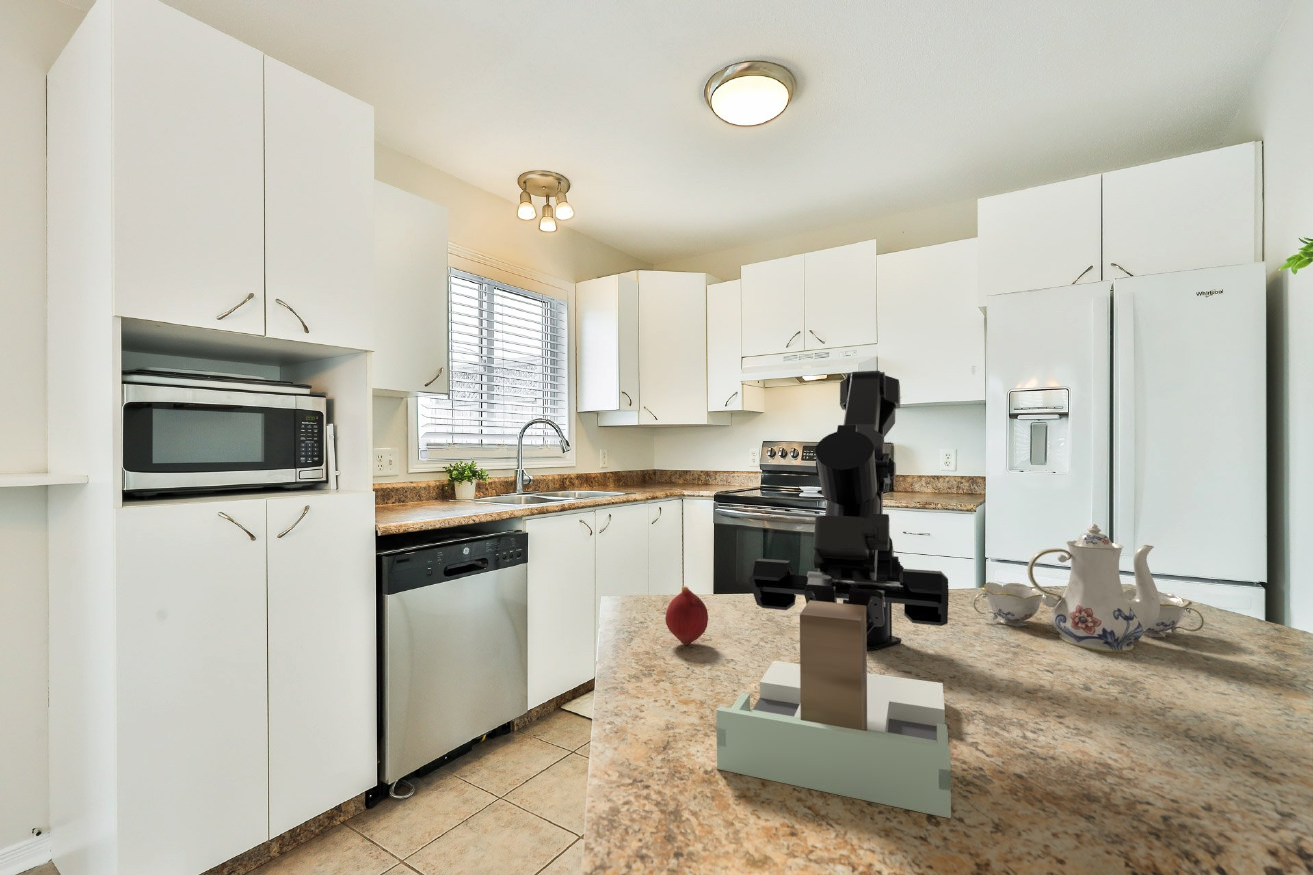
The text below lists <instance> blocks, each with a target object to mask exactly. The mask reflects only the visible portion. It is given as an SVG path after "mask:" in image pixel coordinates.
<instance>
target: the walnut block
mask: <svg viewBox="0 0 1313 875" xmlns="http://www.w3.org/2000/svg"><path fill="white" fill-rule="evenodd" d="M867 651H868V649H867V639H866V606H864V605H854V604H843V602H842V603H840V602H837V603H832V602H822V601H811V600H810V601H809V602H808V603H807V604H806V605H805V606H804V608H803V609H802V611H801V612H800V614H799V664H800V706H801V720H803V721H809V722H815V723H821V724H827V725H833V726H839V727H844V728H850V729H856V730H862V731H867V673H868V667H867V666H868V665H867V663H868V662H867V660H868V659H867V658H868V656H867V655H868V654H867V653H868V652H867Z"/></svg>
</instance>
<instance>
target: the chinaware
mask: <svg viewBox="0 0 1313 875" xmlns="http://www.w3.org/2000/svg"><path fill="white" fill-rule="evenodd" d="M1087 531H1088V532H1084V533H1083V534H1081V535H1080V536H1078V538H1077V540H1068V541H1066V542H1065V543H1066V544H1067V546H1068V550H1069V551H1068V550H1066V549H1065V548H1054V547H1053V548H1045V549H1042V550H1040V551H1038V552H1037V553H1035V554H1034V555H1033V556H1032V557H1031V558H1030V560H1029V562H1028V565H1027V577H1028V579H1029V582H1030V584H1032V585H1033V587H1034V588H1030V587H1029V586H1027V585H1026V584H1022V583H1019V582H1009V583H1006V584H1003V585H1002V584H1000V583H997V582H996V583H995V582H991V581H988V582H987V583H984V584H983V586H981V587H980V590H981V593H977V594H975V596H974V597H973V598H972V599H973V600H972V607H973V609H974V610H975V611H976V612H977V613H978V614H980V615H986V614H992V616H991V619H992V620H994V621H995V620H998V619H999V617H1000V618H1001V619H1000V620H999V622H1001V623H1002V624H1004V625H1009V626H1013V627H1022V626H1028V624H1026V623H1025V621H1027V620H1029V619H1032V618H1033V617H1034V616H1035V615H1036V614H1037V612H1038V611H1039V609H1040V606H1041V602H1042V603H1043V605H1045V606H1046V607H1048V608H1052V610H1051V614H1050V617H1049V621H1050V624H1051V625H1052V627H1053V628H1054V629H1055V630H1056V631H1057V632H1059V635H1058V638H1059V640H1060V641H1062V642H1064V643H1066V644H1068V645H1071V646H1075V647H1077V648H1081V649H1085V650H1092V651H1097V652H1106V653H1127V652H1131V651H1133V650H1135V646H1134V643H1136V642H1137V641H1138V640H1140V638H1142V637H1143V636H1148V637H1150V638H1151V637H1155V638H1165V639H1166V635H1167V633H1165V632H1167V631H1170V632H1171V633H1172V634H1173V635H1175V636H1176V635H1178V634H1179V633H1180V631H1178V629H1182V630H1185V631H1188V632H1198V631H1199V630H1201V629H1202V628H1203V627H1204V625H1205V619H1204V617H1203V616H1204V615H1203V614H1202V613H1201V612H1200V611H1199V610H1197V609H1195V608H1192V607H1191V606H1193V602H1192V601H1190V600H1186V601H1185V600H1183V599H1182V598H1181V597H1180V596H1178V595H1176V594H1173V593H1159V592H1158V589H1157V586H1156V583H1155V581H1154V578H1153V576H1152V573H1151V571H1150V567H1149V564H1148V560H1147V559H1148V555H1149V553H1150V552H1151V551H1152V550H1153V548H1154V547H1155V546H1154V545H1149V544H1144V545H1143V546H1142V545H1141V547H1139V548H1138V549H1137V550H1136V552H1135V553H1134V556H1133V572H1134V579H1135V585H1136V586H1135V587H1136V589H1129V590H1128V589H1127V590H1125V591H1124V590H1123V586H1122V583H1121V578H1120V558H1121V553H1122V551H1123V548H1124V547H1125V546H1123V544H1117V543H1116V542H1115V543H1113V542H1112V540H1111V539H1110V538H1109V537H1108V536H1107V535H1106V534H1103V533H1100V532H1102V530H1101V529H1100V528H1099V527H1098V525H1097V524H1095V523H1093V524H1091V525H1090V527H1089V528H1087ZM1050 553H1051V554H1052V553H1053V554H1055V553H1060V554H1058V555H1057V560H1058V561H1059V562H1060V563H1066V562H1067V561H1069V560H1070V574H1069V579H1068V581H1067V582H1068V583H1067V585H1066V588H1065V591H1064V592H1063V594H1062V595H1061V594H1060V593H1058V592H1057V591H1053V590H1052V591H1051V590H1048V589H1046V588H1045V587H1042V586H1041V585H1040V584H1039V583H1038V582H1037V581H1036V579H1035V576H1034V567H1035V564H1036V562H1037V561H1038V559H1040V558H1041V557H1043V556H1044V555H1047V554H1050ZM1061 553H1064V554H1061ZM1065 554H1067V556H1066V555H1065ZM980 596H981V597H982V599H985V598H986V600H987V603H988V606H989V607H990V609H991V610H990V611H984V612H983V611H980V610H978V609H977V607H976V601H977V599H978V598H979V597H980ZM1053 596H1055V597H1056V598H1055V597H1053ZM1185 611H1186V612H1187V613H1188V614H1189V615H1190V614H1192V611H1193V612H1194V613H1197V614H1198V616H1199V617H1200V620H1201V623H1200V625H1199V626H1198V627H1197V628H1193V629H1190V628H1187V627H1184V626H1179V623H1180V622H1181V621H1182V619H1183V616H1184V613H1185Z"/></svg>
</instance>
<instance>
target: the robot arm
mask: <svg viewBox="0 0 1313 875" xmlns="http://www.w3.org/2000/svg"><path fill="white" fill-rule="evenodd" d="M839 406H840V407H841V409H842V410H843V411H845V412H844V419H843V424H838V425H837V429H836V431H835V432H832V433H829V434H827V435H826V436H824V437H823V438H822V439H821V440H820V441H819V442H818V443H817V444H816V445H815V452H814V453H815V458H816V460H815V469H816V474H817V478H818V479H819V482H820V488H821V494H822V496H823V498H824V499H825V501H826V504H825V511H824V512H825V514H824V515H817V516H815V519H814V531H813V532H814V534H813V535H814V536H813V550H814V555H813V565H814V569H818V570H817V571H806V572H807V573H806V575H799V574H794V572H793V566H792V563H791V560H784V559H768V558H757V559H756V560H755V561H754V562H753V563H752V564H750V569H749V573H748V578H747V579H748V582H749V585H750V588H751V591H752V594H753V598H754V601H755V603H756V605H757V606H758V607H760V608H763V609H768V610H769V609H771V610H781V611H788V610H789V609H791V608H793V607H794V606H795V604H796V598H797V596H800V597H801V596H803V597H804V599H805V604H806V605H807V603H808V602H809V601H810V600H811V601H822V602H832V603H838V600H842V603H843V604H854V605H864V606H866V639H867V651H868V650H869V651H875V650H877V649H882V648H885V647H889V646H893V645H897V644H901V643H902V638H900V637H897V636H895V635H893V626H892V625H893V622H892V621H893V618H892V617H893V616H892V615H893V613H892V612H893V610H892V604H899V605H903V607H904V608H903V609H904V610H903V611H904V612H903V613H904V617H906V618H907V619H908V620H909V621H910V622H911V623H912V624H916V625H917V624H918V625H927V626H936V627H942V626H945V625H948V621H949V620H948V619H949V596H950V594H949V578H948V577H947V576H946V575H945V573H943V572H942V571H941V570H927V569H914V568H913V569H912V568H905V567H904V566H903V565H902V564H901V561H899V556H897V555H896V556H895V554H894V553H895V551H894V550H895V549H894V544H893V539H892V538H891V534H890V514H889V513H888V514H887V513H884V512H883V510H884V491H885V487H886V486H885V485H886V484H891V482H893V477H894V476H895V475H896V474H897V463H896V462H895V461H894V459H893V458H892V457H891V453H888V452H887V453H886V450H885V449H886V448H885V437H886V436H887V435H888V433H889V432H890V430H892V428H893V427H894V425H895V424H896V410H897V409H901V384H900V379H898V378H896V377H891V376H888V375H886V372H885V371H881V370H866V371H865V370H861V371H852V372H851V373H847V375H846V378H845V379H844V380H841V381H840V382H839Z"/></svg>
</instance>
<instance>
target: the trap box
mask: <svg viewBox="0 0 1313 875" xmlns="http://www.w3.org/2000/svg"><path fill="white" fill-rule="evenodd" d="M944 696H945V695H944V684H943V682H936V681H929V680H920V679H914V678H906V677H898V676H892V675H885V674H877V673H870V672H867V731H862V730H856V729H850V728H844V727H839V726H833V725H827V724H821V723H815V722H809V721H803V720H801V706H800V663H793V662H788V661H779V660H773V662H771V664H770V666H769V667H768V668H767V670H766V671H765V673H764V675H763V676H762V678H761V680H759V698H758V700H757V701H756V703H755V704H754V706H753V707H752V709H751V693H749V692H743V691H742V692H741V693H740V695H739V696H738V697H737V699H736V700H735V701H734V703H733V704H732V706H731V707H727V706H726V707H725V706H720V705H719V706H718V707H717V708H716V770H720V771H725V772H730V773H734V774H739V775H744V776H749V777H753V778H758V779H763V780H766V781H767V780H768V781H771V782H776V783H782V784H787V785H791V786H795V787H800V788H806V789H809V790H810V789H811V790H815V791H820V792H824V793H829V794H834V795H839V796H843V797H848V798H853V799H858V800H862V801H867V802H872V803H877V804H880V805H886V806H891V807H895V808H900V809H904V810H910V811H915V812H919V813H924V814H927V815H933V816H937V817H943V818H947V819H952V792H951V791H952V784H951V783H952V781H951V780H952V778H951V777H952V776H951V772H952V770H951V745H950V744H949V736H948V735H949V734H948V733H949V732H948V725H947V724H946V722H945V721H946V718H945V715H946V714H945V712H946V711H945V709H946V708H945V698H944Z"/></svg>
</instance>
